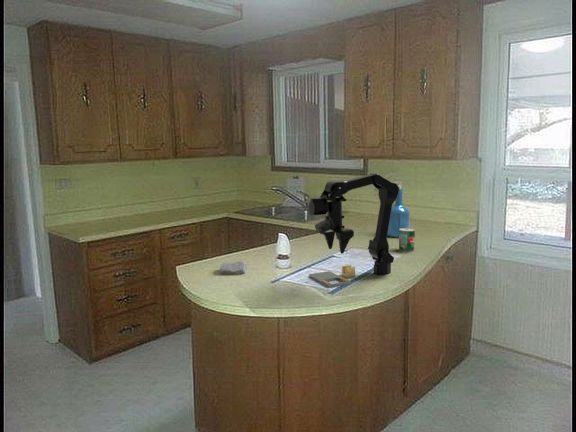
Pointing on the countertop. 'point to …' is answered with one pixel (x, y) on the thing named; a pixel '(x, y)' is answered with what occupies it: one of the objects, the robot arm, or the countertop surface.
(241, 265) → the stone block
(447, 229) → the countertop surface
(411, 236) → the canned tomato
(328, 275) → the rail plate
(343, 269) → the brass clip
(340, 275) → the tab
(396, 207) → the wine bottle
